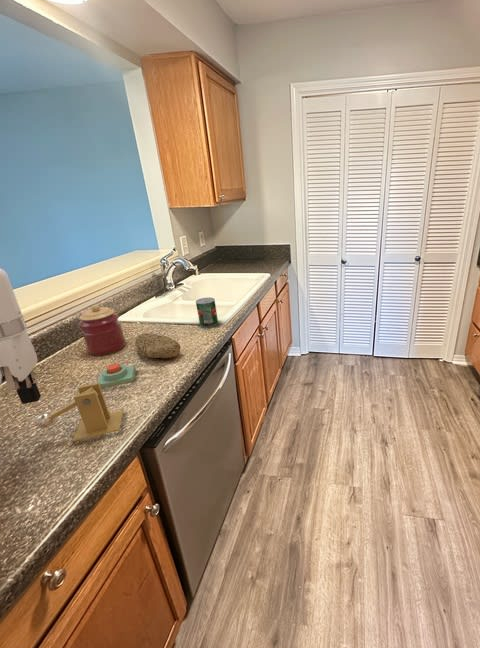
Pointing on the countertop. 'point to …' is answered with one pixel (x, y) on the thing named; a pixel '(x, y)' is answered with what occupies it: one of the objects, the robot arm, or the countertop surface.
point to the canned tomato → (207, 312)
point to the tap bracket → (95, 413)
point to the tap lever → (56, 413)
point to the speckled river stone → (157, 346)
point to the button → (113, 368)
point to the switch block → (117, 376)
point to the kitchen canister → (101, 330)
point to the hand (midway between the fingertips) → (31, 400)
